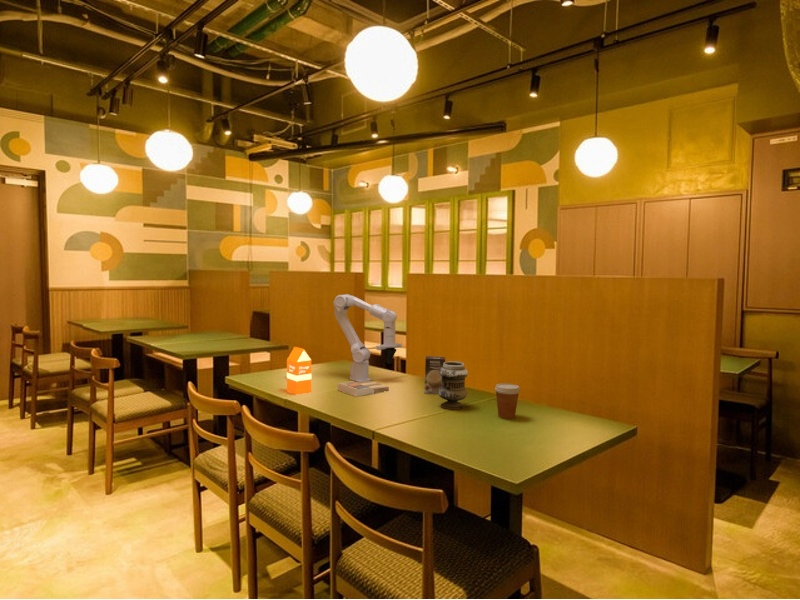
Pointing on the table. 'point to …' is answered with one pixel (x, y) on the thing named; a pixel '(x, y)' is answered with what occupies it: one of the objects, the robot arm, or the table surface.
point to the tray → (354, 389)
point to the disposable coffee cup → (507, 400)
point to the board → (375, 386)
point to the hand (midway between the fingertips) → (389, 363)
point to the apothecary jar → (453, 384)
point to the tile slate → (362, 387)
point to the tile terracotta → (354, 385)
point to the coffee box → (433, 374)
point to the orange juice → (299, 372)
